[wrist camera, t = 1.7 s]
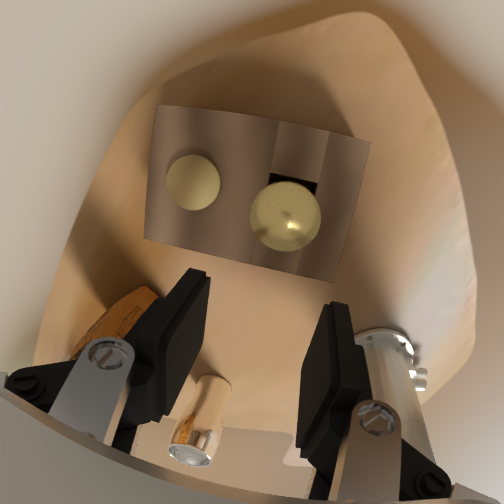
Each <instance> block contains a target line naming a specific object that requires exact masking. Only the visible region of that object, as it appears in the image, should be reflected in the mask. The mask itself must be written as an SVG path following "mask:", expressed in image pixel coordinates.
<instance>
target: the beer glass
mask: <svg viewBox="0 0 504 504" xmlns="http://www.w3.org/2000/svg"><path fill="white" fill-rule="evenodd" d="M231 393H232V388H231V386H230V384H229V383H228V382H227V381H226V380H225V379H223V378H221V377H219V376H215V375H205V376H202V377H200V378H199V380H198V382H197V386H196V392H195V395H194V397H193V399H192V400H191V402H190V403H189V405H188V406H187V407H186V409H185V410H184V411H183V413H182V414H181V416H180V418H179V419H178V421H177V423H176V425H175V428H174V430H173V433H172V435H171V438H170V442H169V445H168V447H167V451H168V453H169V455H170V456H172V457H173V458H174V459H175V460H177V461H179V462H181V463H183V464H185V465H188V466H192V467H198V468H204V467H208V466H210V465H211V463H212V460H213V458H214V455H215V453H216V451H217V448H218V445H219V442H220V438H221V434H222V427H223V414H224V407H225V404H226V402H227V400H228V399H229V397H230V395H231Z"/></svg>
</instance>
